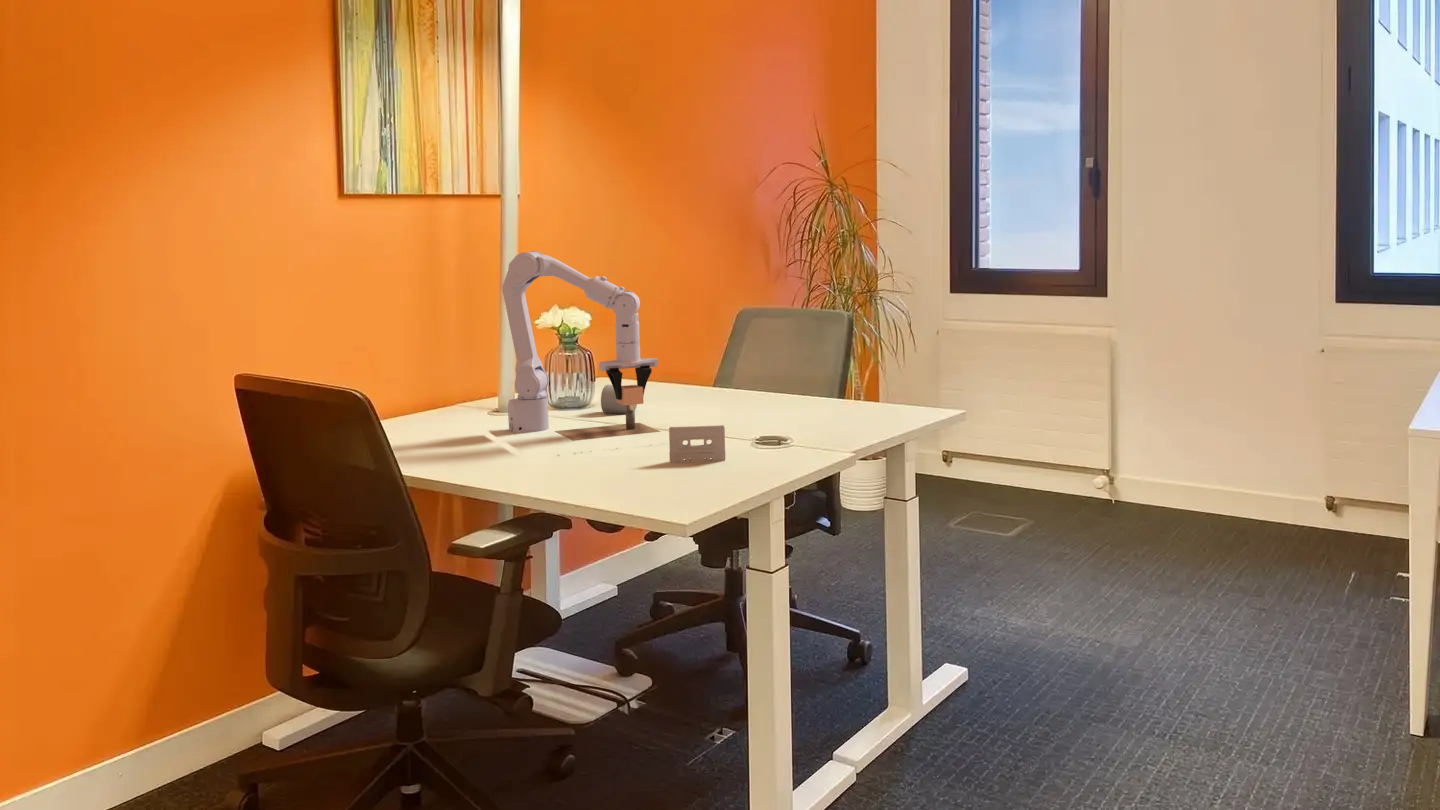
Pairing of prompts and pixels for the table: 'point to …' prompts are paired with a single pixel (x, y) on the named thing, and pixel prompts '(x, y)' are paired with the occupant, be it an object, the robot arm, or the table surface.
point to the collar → (631, 395)
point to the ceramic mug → (613, 402)
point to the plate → (609, 429)
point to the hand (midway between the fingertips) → (629, 398)
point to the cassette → (697, 451)
